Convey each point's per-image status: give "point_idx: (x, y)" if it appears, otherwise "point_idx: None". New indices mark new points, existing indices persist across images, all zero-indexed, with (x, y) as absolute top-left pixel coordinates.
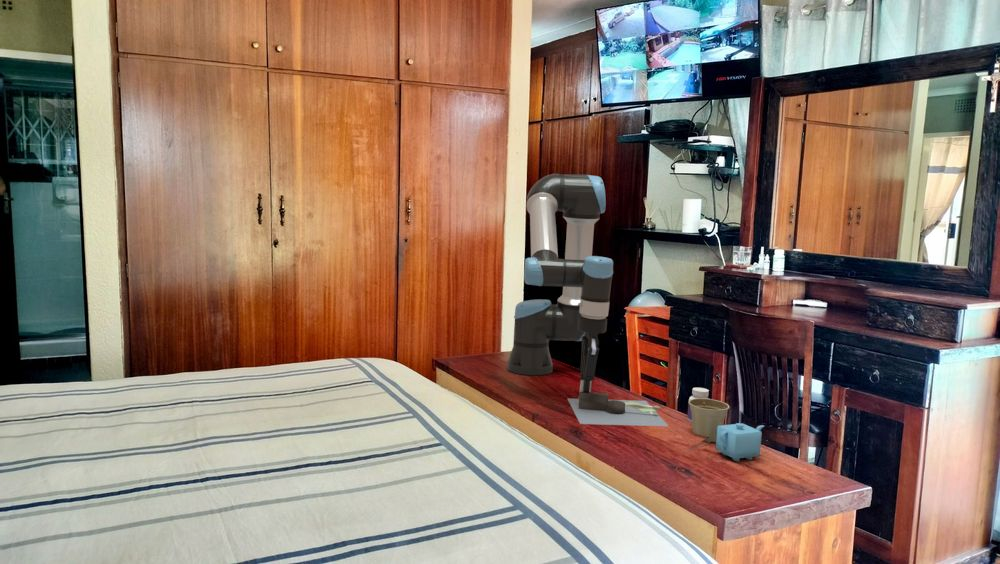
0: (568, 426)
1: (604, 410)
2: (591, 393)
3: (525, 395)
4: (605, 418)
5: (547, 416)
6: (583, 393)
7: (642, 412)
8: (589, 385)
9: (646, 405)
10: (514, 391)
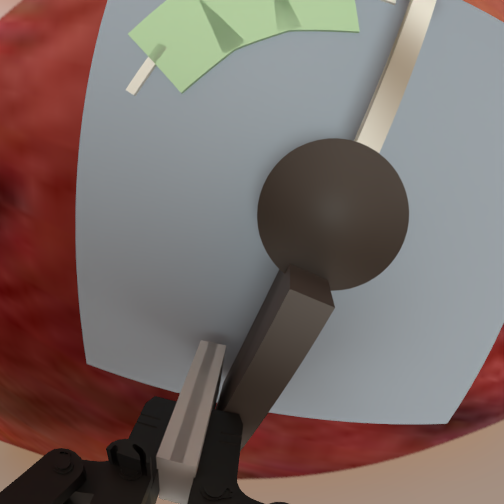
0: (393, 432)
1: None
2: (257, 404)
3: (47, 418)
4: (433, 315)
5: (268, 460)
6: (248, 438)
7: (359, 33)
8: (238, 458)
9: (409, 10)
10: (25, 421)
